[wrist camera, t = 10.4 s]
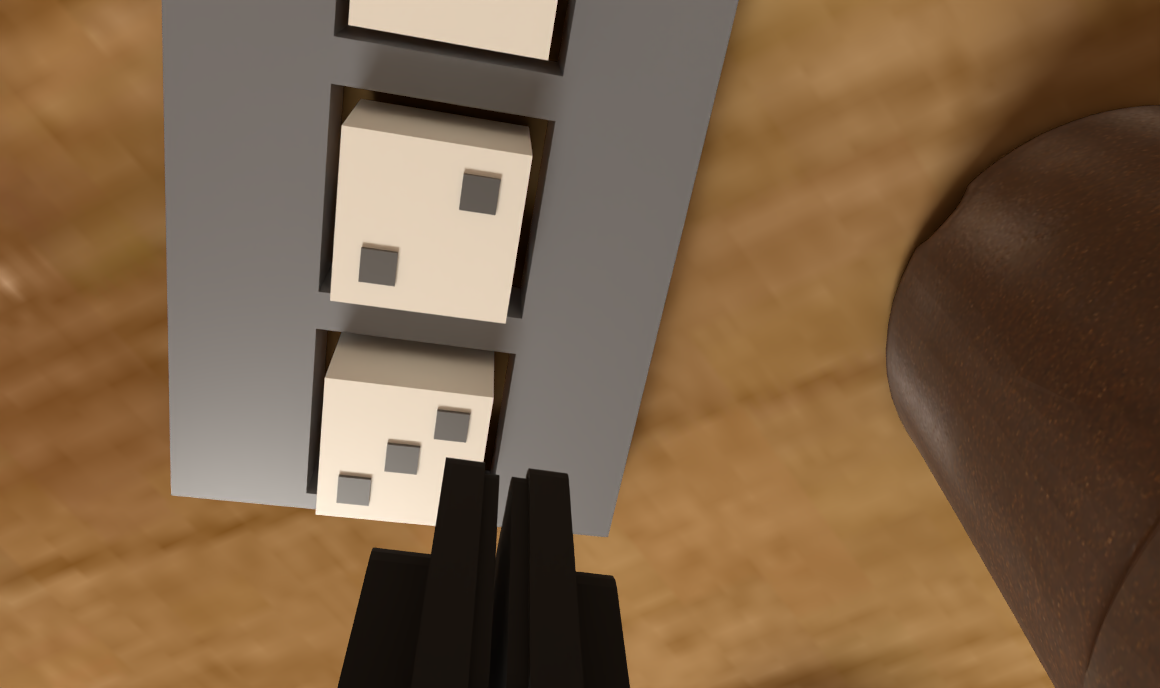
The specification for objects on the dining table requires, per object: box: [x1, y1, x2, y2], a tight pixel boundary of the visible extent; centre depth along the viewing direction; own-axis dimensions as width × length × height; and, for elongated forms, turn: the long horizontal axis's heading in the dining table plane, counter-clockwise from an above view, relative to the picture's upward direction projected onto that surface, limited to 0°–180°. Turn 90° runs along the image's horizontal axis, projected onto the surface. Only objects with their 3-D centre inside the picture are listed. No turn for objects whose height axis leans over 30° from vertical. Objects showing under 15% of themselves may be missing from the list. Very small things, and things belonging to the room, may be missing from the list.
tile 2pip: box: [330, 99, 533, 324], centre depth 21 cm, size 4×4×3 cm
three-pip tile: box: [316, 332, 494, 526], centre depth 23 cm, size 4×4×3 cm
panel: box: [162, 0, 739, 537], centre depth 22 cm, size 12×18×2 cm, turn 170°
